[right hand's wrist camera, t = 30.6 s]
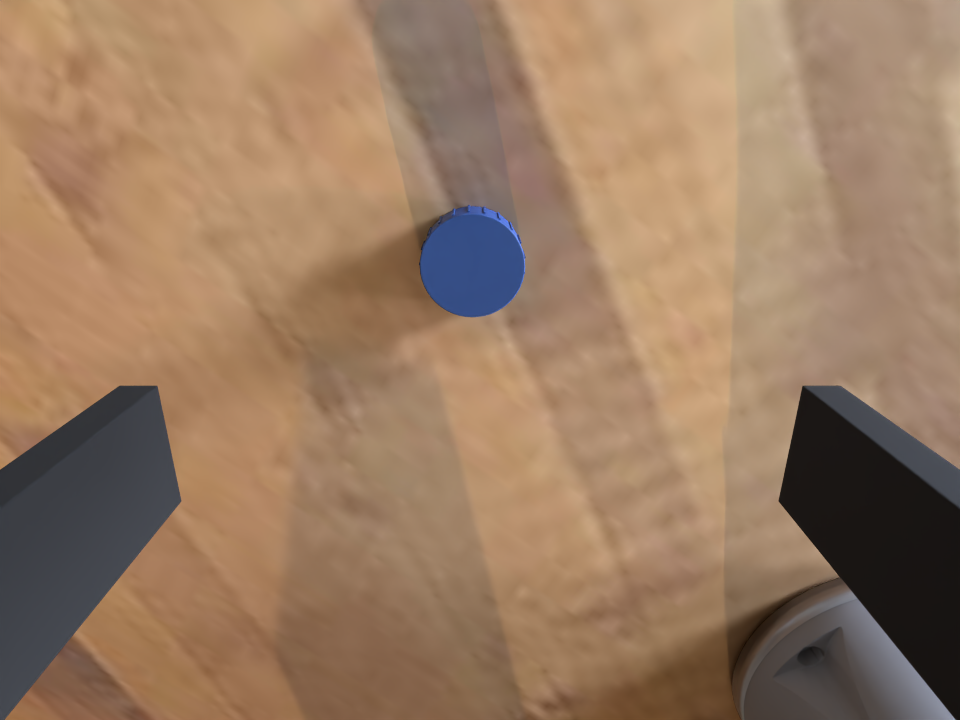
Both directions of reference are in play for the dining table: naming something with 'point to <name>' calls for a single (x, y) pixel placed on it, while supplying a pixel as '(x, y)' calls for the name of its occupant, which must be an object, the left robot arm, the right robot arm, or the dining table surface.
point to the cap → (472, 262)
